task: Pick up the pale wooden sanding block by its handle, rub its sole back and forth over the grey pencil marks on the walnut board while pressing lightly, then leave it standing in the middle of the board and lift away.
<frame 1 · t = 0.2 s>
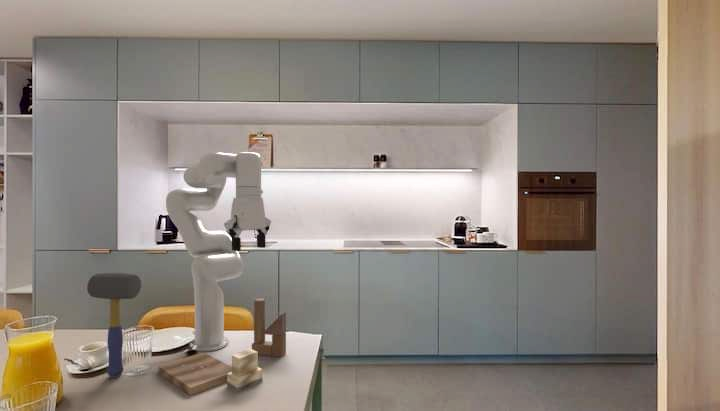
hand: (249, 249, 120), 36 cm above the table, tool pointing down, fingers open, 9 cm apart
sanding block: (244, 384, 110), on the table
walnut board: (197, 374, 115), on the table
rubber mallet: (115, 376, 114), on the table
wooden block: (268, 354, 130), on the table
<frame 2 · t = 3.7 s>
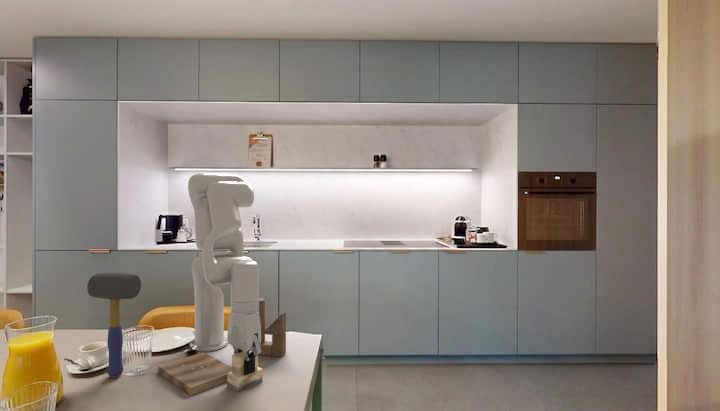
hand: (245, 370, 109), 4 cm above the table, tool pointing down, fingers closed on sanding block, 3 cm apart
sanding block: (245, 383, 109), on the table, touching gripper
everything else where it was.
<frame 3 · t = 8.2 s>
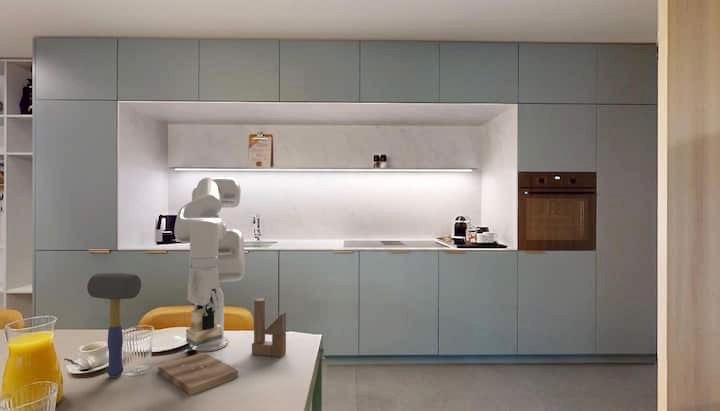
hand: (204, 326, 111), 15 cm above the table, tool pointing down, fingers closed on sanding block, 3 cm apart
sanding block: (204, 340, 111), point 11 cm above the table, touching gripper
everything else where it was.
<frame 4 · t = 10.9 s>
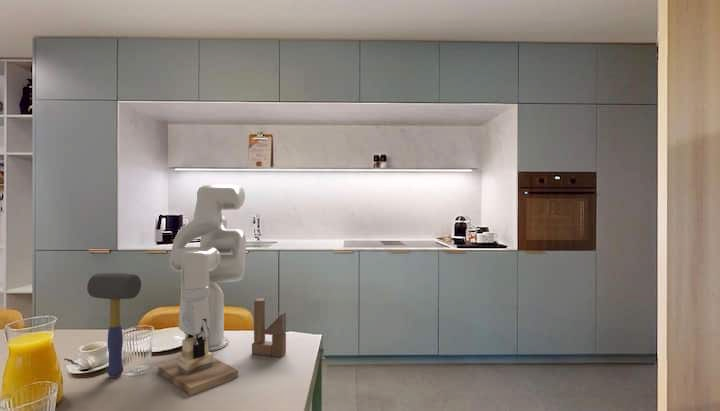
hand: (195, 354, 115), 6 cm above the table, tool pointing down, fingers closed on sanding block, 3 cm apart
sanding block: (195, 367, 115), point 2 cm above the table, touching gripper
everything else where it was.
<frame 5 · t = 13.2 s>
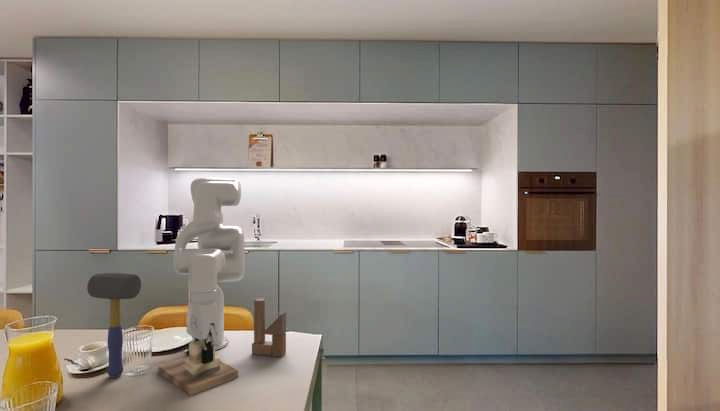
hand: (203, 359, 112), 6 cm above the table, tool pointing down, fingers closed on sanding block, 4 cm apart
sanding block: (202, 371, 112), point 2 cm above the table, touching gripper, walnut board
everything else where it was.
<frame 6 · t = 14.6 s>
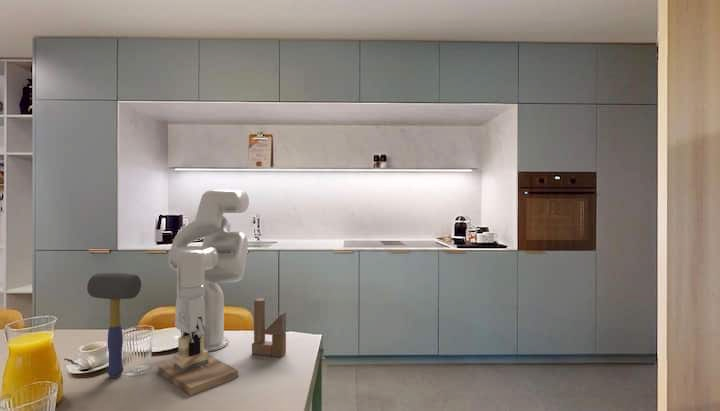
hand: (190, 352, 116), 6 cm above the table, tool pointing down, fingers closed on sanding block, 3 cm apart
sanding block: (191, 365, 117), point 2 cm above the table, touching gripper
everything else where it was.
when the fingers open (6 cm above the table, at t = 15.7 s): sanding block stays where it is, resting on walnut board.
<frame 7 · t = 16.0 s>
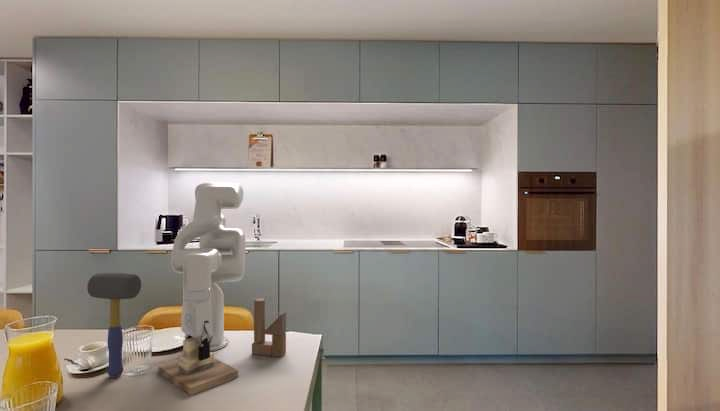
hand: (197, 354, 114), 6 cm above the table, tool pointing down, fingers open, 7 cm apart
sanding block: (196, 367, 115), point 2 cm above the table, touching walnut board
everything else where it was.
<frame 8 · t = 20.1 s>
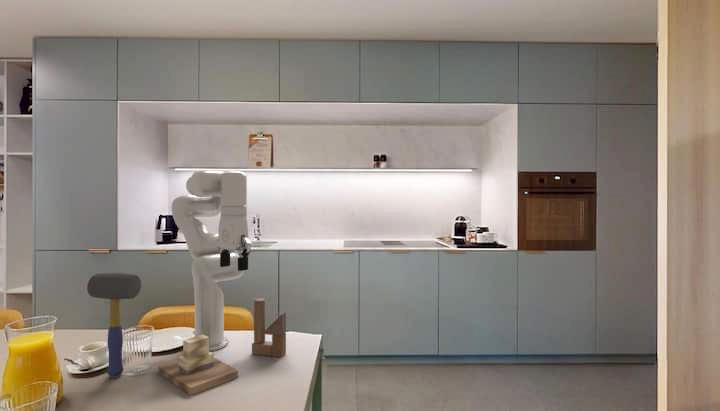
hand: (233, 268, 120), 30 cm above the table, tool pointing down, fingers open, 9 cm apart
nothing on the table moved.
at the end: sanding block inside the target area on the walnut board (0.5 cm from its centre), point 2.0 cm above the walnut board's base; sanding block tilted 0°; the gripper is holding nothing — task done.
